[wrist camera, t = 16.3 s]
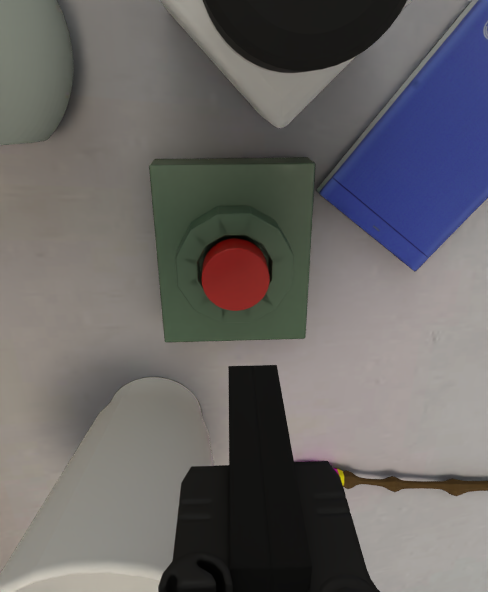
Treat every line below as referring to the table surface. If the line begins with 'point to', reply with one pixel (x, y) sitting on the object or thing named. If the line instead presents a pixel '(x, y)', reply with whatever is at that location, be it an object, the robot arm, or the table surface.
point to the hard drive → (423, 149)
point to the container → (283, 44)
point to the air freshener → (33, 70)
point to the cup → (116, 497)
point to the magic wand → (413, 483)
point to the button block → (226, 225)
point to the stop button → (235, 274)
